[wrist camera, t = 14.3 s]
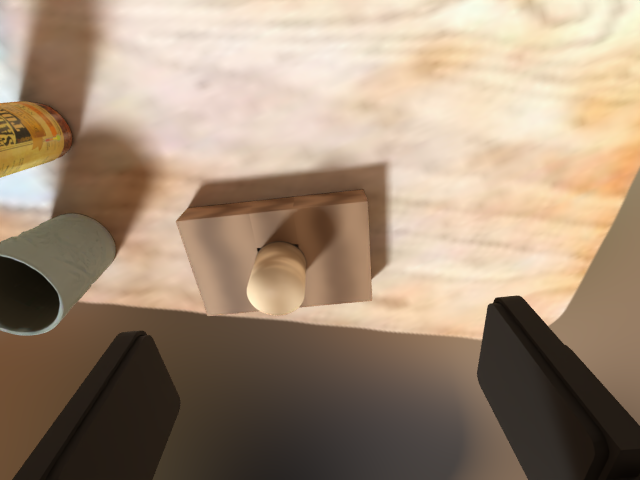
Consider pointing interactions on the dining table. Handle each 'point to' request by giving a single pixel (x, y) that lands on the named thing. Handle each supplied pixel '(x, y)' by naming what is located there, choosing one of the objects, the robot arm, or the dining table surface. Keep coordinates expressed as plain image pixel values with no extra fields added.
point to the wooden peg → (277, 279)
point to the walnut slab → (280, 225)
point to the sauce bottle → (30, 136)
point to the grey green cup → (50, 271)
